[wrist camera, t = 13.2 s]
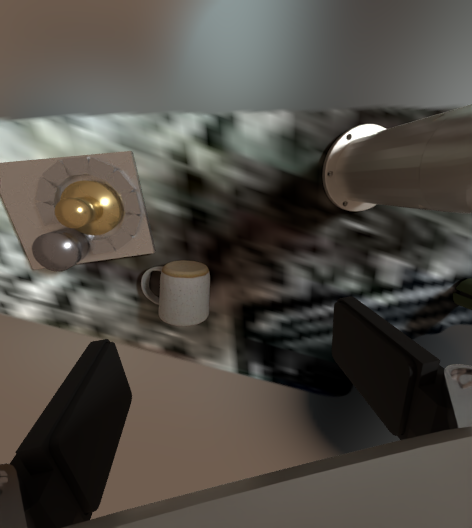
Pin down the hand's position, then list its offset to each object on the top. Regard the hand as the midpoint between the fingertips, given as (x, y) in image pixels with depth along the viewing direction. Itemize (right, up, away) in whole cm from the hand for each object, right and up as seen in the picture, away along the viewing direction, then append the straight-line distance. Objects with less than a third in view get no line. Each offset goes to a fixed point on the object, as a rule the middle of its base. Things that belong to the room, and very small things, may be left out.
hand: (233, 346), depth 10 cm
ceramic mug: (-10, 0, +29) cm, 30 cm away
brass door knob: (-19, +11, +22) cm, 31 cm away
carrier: (-21, +11, +23) cm, 33 cm away
